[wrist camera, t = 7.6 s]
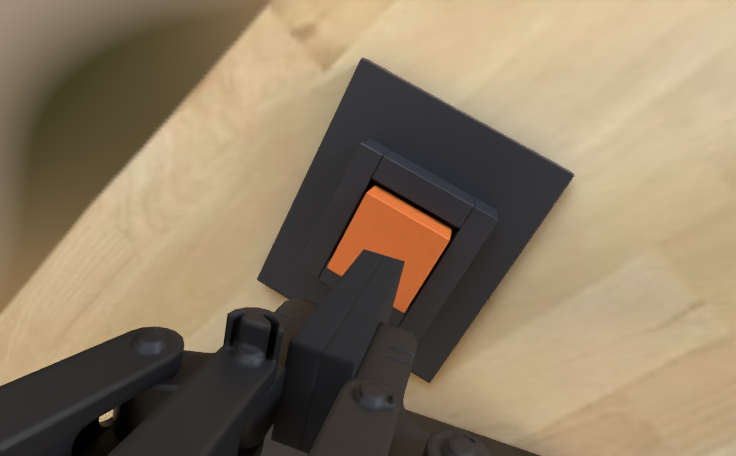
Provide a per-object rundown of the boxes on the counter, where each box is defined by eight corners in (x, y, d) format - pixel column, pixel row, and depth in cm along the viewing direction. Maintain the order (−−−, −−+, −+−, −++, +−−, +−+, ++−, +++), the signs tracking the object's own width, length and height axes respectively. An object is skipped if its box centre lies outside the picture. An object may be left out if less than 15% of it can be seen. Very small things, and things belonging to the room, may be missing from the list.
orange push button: (366, 58, 22) (350, 52, 19) (571, 171, 21) (585, 182, 19) (263, 273, 26) (238, 294, 24) (431, 373, 26) (425, 407, 23)
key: (375, 184, 21) (366, 191, 19) (452, 228, 21) (450, 239, 19) (337, 255, 22) (326, 268, 21) (409, 297, 22) (403, 313, 20)
